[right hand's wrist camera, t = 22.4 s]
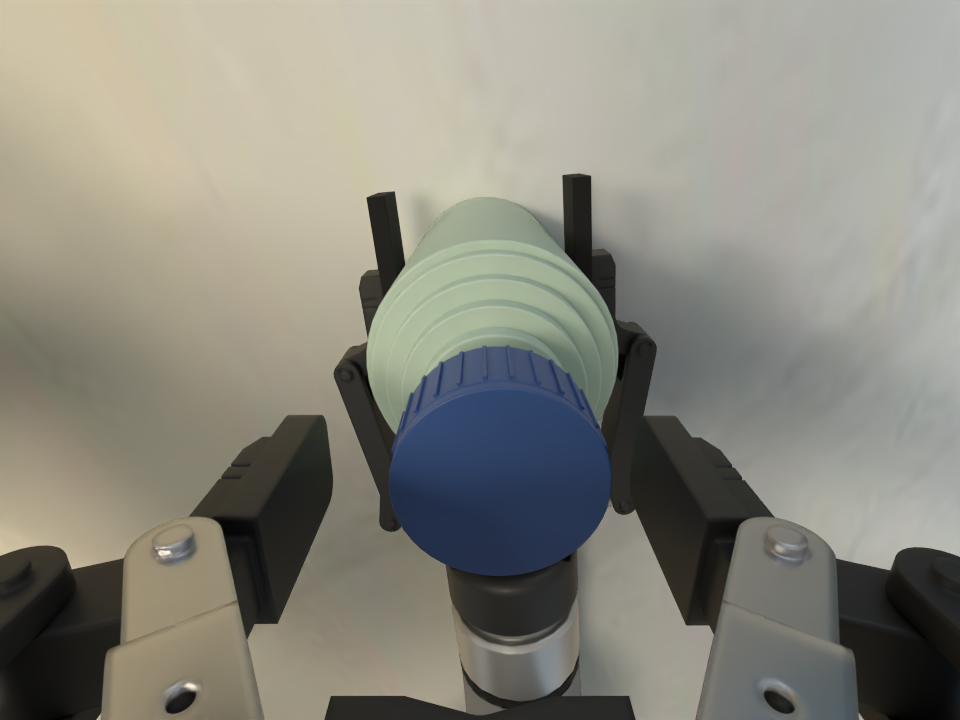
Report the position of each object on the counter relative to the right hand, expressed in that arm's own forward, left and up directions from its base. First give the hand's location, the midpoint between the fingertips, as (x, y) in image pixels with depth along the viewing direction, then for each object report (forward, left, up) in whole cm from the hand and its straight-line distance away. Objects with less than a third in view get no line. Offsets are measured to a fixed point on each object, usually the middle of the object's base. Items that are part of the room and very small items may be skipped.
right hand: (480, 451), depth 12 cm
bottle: (0, 0, -20) cm, 20 cm away
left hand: (-1, +5, -14) cm, 14 cm away
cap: (0, 0, +1) cm, 1 cm away
